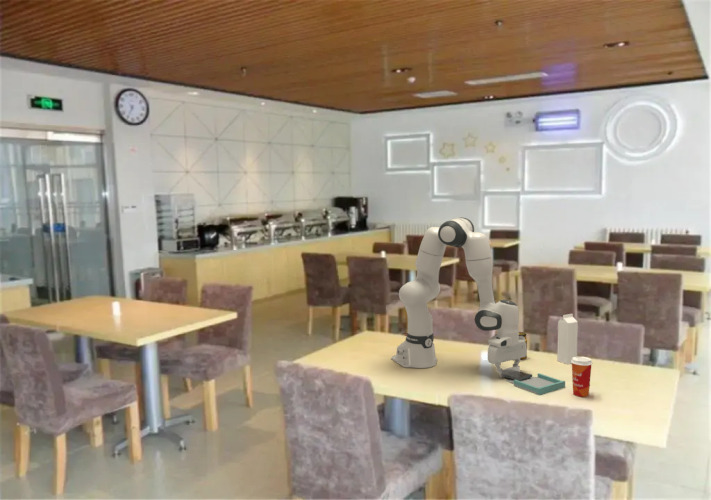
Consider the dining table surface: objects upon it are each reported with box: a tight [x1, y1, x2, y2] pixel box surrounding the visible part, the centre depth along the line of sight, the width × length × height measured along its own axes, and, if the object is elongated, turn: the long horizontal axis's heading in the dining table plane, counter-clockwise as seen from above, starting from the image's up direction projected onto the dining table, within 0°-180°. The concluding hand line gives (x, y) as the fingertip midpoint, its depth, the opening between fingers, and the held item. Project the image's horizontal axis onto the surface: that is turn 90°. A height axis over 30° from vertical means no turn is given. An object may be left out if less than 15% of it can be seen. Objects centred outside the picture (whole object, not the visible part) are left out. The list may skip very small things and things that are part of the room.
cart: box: [499, 365, 533, 381], centre depth 243 cm, size 9×11×4 cm
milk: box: [556, 313, 579, 365], centre depth 264 cm, size 6×6×22 cm
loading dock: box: [505, 373, 566, 396], centre depth 236 cm, size 19×15×4 cm
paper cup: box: [571, 356, 593, 398], centre depth 224 cm, size 8×8×14 cm
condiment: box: [512, 331, 531, 362], centre depth 271 cm, size 7×8×12 cm
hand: (507, 370), depth 248 cm, fingers open, 8 cm apart
